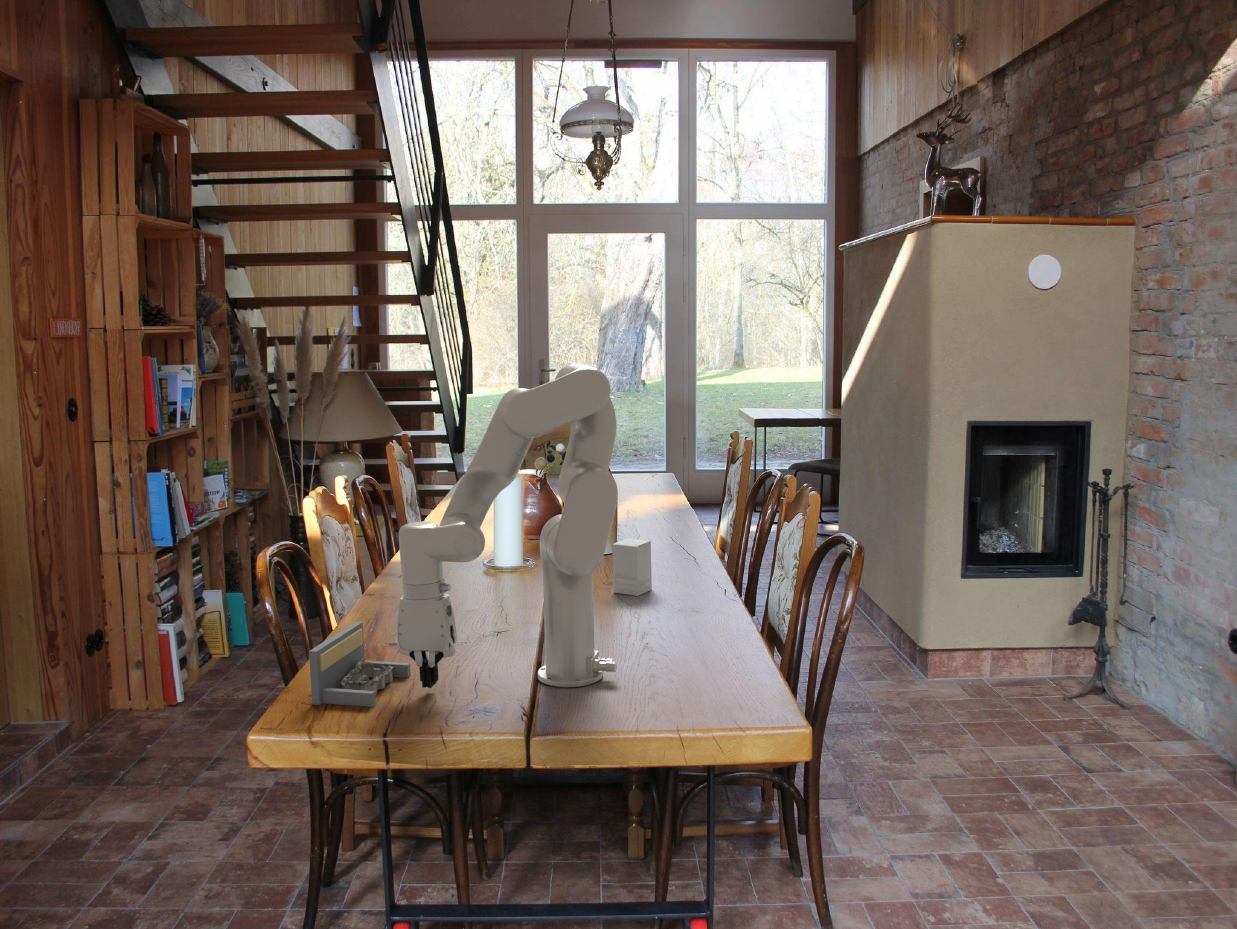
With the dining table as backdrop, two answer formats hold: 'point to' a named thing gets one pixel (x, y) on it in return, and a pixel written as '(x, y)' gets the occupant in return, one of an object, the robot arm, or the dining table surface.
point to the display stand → (344, 668)
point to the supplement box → (632, 566)
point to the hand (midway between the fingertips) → (429, 685)
